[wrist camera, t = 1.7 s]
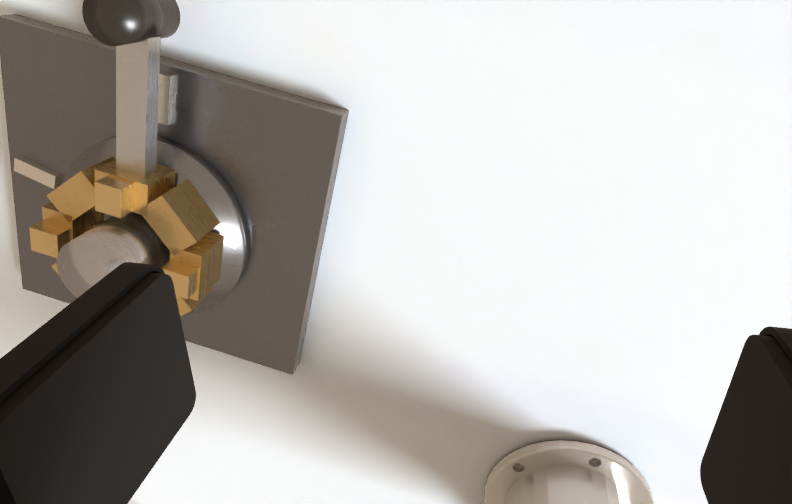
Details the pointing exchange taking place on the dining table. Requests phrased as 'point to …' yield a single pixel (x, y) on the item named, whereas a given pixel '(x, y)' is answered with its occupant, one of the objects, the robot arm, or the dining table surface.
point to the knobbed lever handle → (137, 159)
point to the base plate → (178, 182)
